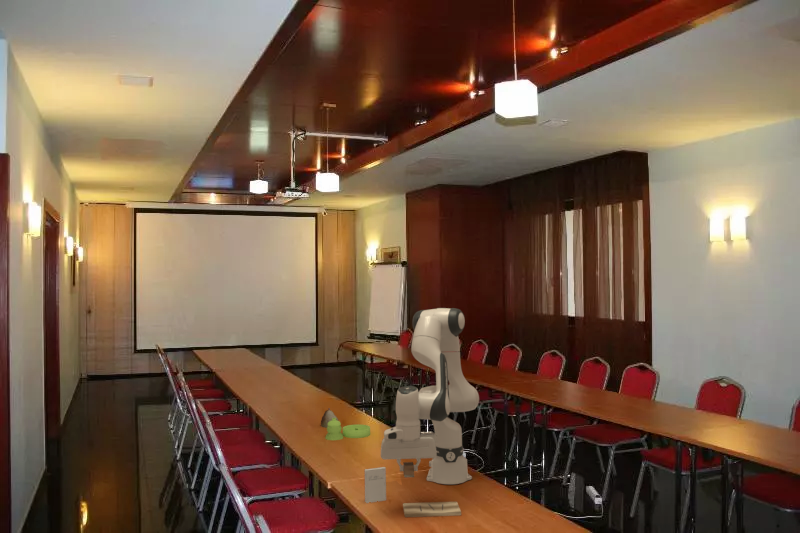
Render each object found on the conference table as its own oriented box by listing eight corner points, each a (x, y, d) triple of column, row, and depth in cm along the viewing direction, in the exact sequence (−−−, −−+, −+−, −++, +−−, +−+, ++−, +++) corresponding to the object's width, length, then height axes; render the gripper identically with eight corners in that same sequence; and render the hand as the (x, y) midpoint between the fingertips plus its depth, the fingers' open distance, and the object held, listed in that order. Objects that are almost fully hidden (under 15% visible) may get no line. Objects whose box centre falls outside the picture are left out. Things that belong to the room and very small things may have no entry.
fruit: (333, 427, 376) (333, 406, 376) (342, 430, 369) (342, 409, 369) (318, 430, 370) (317, 409, 370) (327, 433, 362) (327, 411, 362)
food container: (362, 434, 359) (361, 411, 360) (375, 439, 347) (374, 415, 347) (320, 441, 346) (319, 416, 346) (332, 446, 334) (332, 421, 334)
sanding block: (403, 473, 241) (403, 462, 241) (413, 473, 241) (413, 462, 241) (404, 477, 236) (404, 466, 236) (414, 477, 236) (414, 465, 236)
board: (403, 506, 244) (403, 503, 244) (456, 504, 245) (456, 501, 245) (404, 517, 233) (404, 513, 233) (461, 515, 234) (461, 511, 234)
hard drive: (364, 502, 249) (364, 469, 249) (385, 499, 252) (384, 466, 252) (366, 503, 247) (365, 470, 248) (386, 500, 250) (386, 467, 251)
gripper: (435, 429, 243) (436, 467, 242) (380, 430, 242) (380, 469, 241) (437, 433, 236) (438, 472, 236) (380, 434, 235) (381, 474, 235)
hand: (408, 470), depth 239 cm, fingers closed on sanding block, 3 cm apart
